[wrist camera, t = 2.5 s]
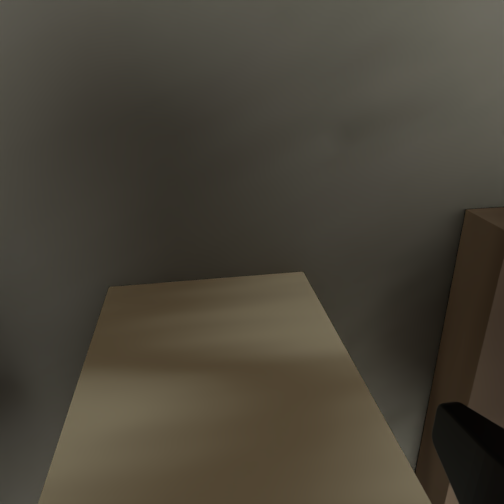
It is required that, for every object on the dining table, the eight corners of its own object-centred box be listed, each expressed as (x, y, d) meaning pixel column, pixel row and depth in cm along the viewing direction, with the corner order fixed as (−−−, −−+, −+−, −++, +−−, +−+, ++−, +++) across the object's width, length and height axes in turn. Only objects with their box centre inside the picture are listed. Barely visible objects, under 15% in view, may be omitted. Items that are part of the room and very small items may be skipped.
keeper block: (133, 434, 12) (72, 894, 5) (108, 286, 10) (-31, 714, 3) (297, 414, 12) (423, 810, 6) (302, 271, 10) (493, 616, 4)
